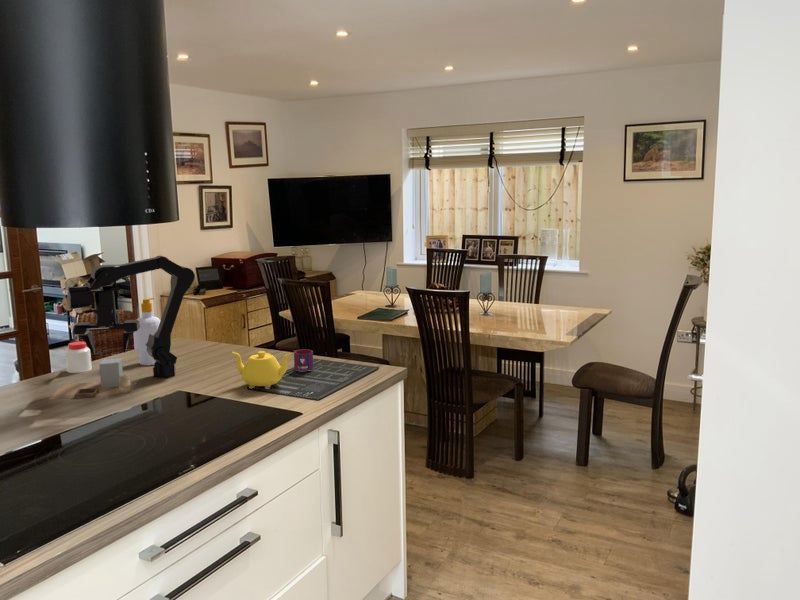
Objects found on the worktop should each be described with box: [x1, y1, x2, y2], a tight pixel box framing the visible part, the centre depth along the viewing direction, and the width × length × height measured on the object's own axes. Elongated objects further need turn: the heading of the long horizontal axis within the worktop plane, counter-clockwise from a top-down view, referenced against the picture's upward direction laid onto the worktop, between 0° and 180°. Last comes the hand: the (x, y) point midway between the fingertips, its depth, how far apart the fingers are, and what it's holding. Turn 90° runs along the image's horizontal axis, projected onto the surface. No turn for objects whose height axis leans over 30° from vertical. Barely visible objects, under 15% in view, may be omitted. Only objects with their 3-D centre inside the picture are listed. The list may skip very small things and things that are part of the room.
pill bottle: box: [64, 341, 93, 374], centre depth 222 cm, size 8×8×11 cm
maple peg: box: [119, 374, 131, 394], centre depth 198 cm, size 3×3×5 cm
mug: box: [293, 348, 314, 371], centre depth 230 cm, size 7×10×7 cm
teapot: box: [231, 350, 292, 388], centre depth 211 cm, size 20×15×12 cm
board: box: [48, 379, 140, 401], centre depth 201 cm, size 23×16×3 cm
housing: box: [99, 358, 124, 388], centre depth 205 cm, size 6×6×8 cm
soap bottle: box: [132, 297, 161, 367], centre depth 235 cm, size 10×10×24 cm
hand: (109, 353), depth 204 cm, fingers open, 9 cm apart
